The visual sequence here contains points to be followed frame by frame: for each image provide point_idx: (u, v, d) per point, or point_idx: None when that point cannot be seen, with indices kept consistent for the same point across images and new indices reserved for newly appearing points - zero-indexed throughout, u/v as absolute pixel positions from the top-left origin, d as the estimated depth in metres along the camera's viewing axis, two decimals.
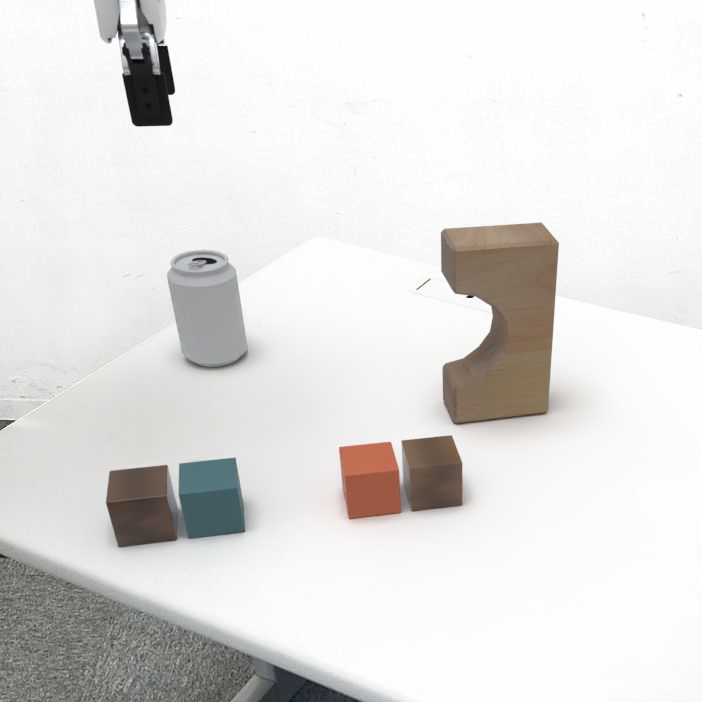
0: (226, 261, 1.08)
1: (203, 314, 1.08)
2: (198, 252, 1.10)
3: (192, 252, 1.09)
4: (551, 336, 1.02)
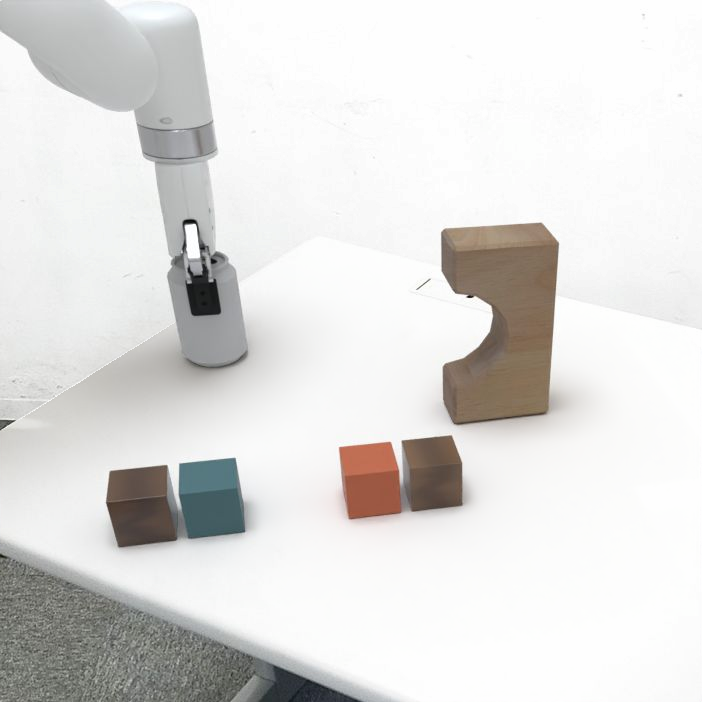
0: (226, 261, 1.08)
1: None
2: None
3: None
4: (551, 336, 1.02)
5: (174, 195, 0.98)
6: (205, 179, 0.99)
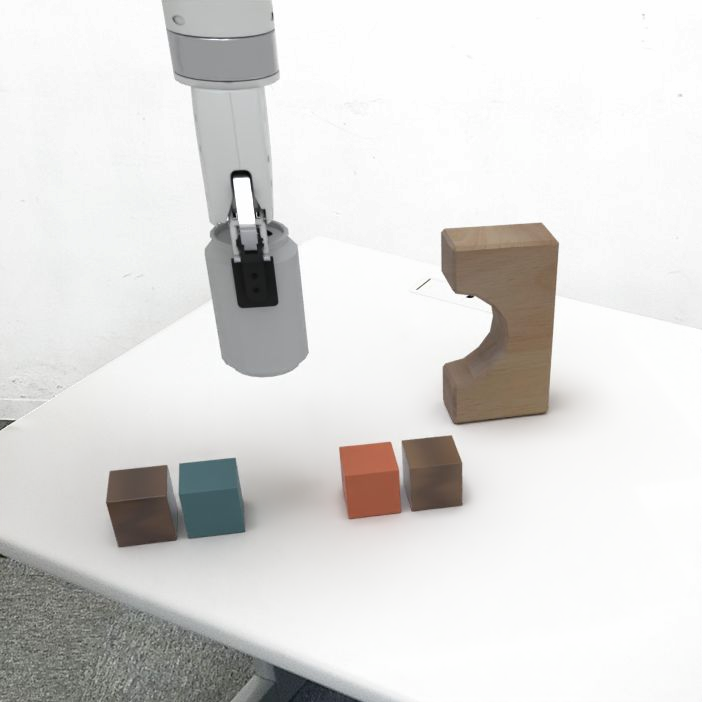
0: (286, 233, 0.78)
1: None
2: None
3: None
4: (551, 336, 1.02)
5: (220, 134, 0.69)
6: (263, 113, 0.70)
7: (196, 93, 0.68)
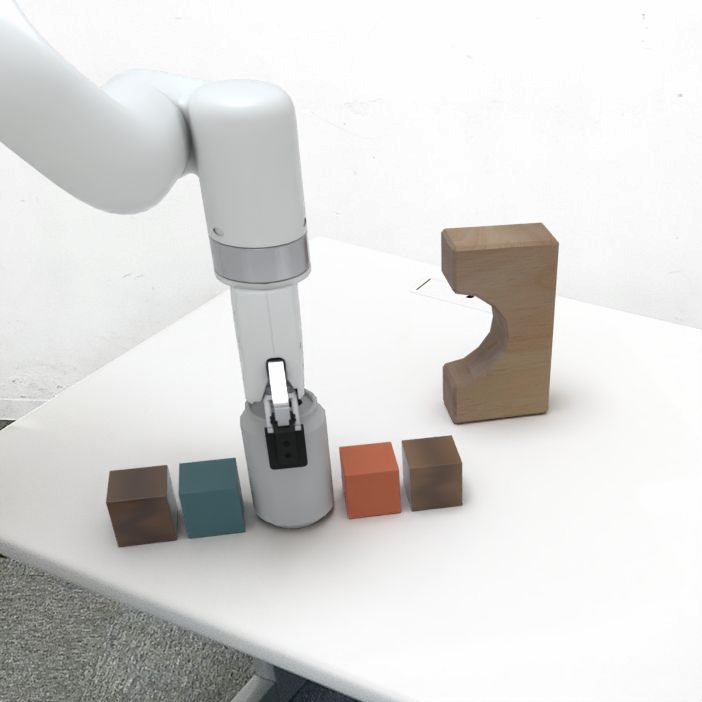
0: (315, 403, 0.85)
1: (285, 470, 0.85)
2: None
3: (270, 389, 0.86)
4: (551, 336, 1.02)
5: (257, 329, 0.75)
6: (296, 306, 0.76)
7: (236, 294, 0.74)
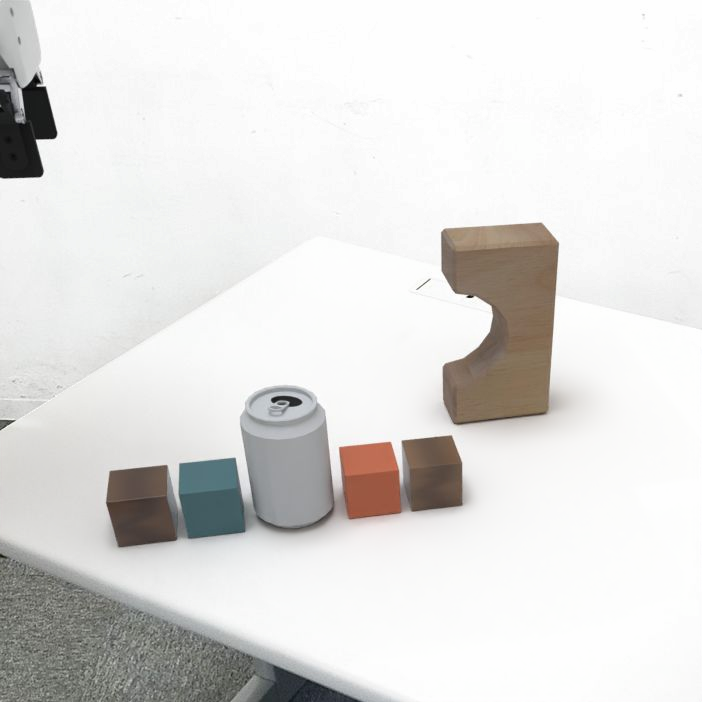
0: (315, 403, 0.85)
1: (285, 470, 0.85)
2: (277, 388, 0.87)
3: (270, 389, 0.86)
4: (551, 336, 1.02)
5: None
6: None
7: None
